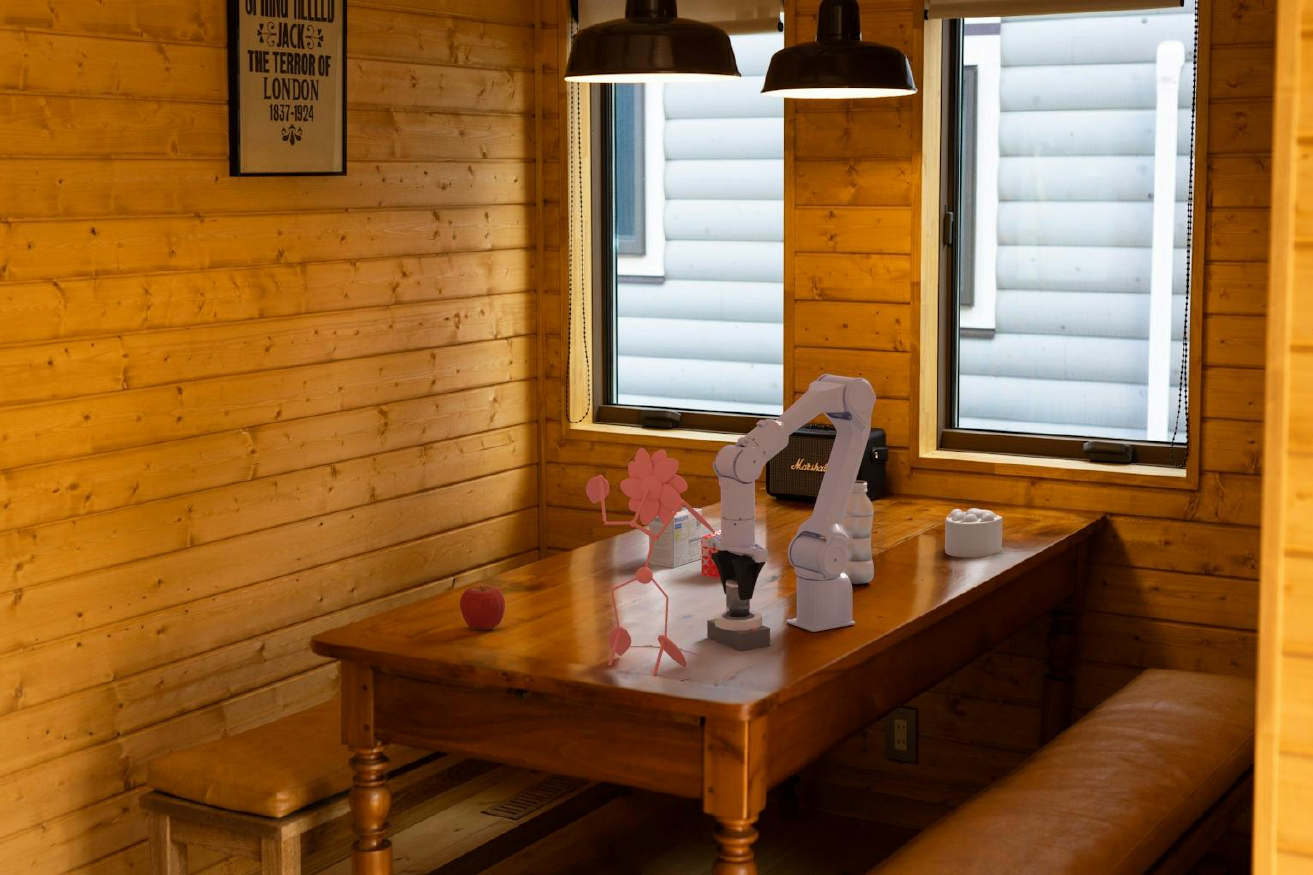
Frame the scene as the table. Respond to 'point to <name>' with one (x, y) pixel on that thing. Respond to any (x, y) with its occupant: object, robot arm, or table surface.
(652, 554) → the light bulb box
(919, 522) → the table surface
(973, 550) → the lumpy-topped squat cylinder
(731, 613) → the lens
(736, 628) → the camera body
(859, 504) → the plastic bottle
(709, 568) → the red patterned gift box
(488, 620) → the apple
